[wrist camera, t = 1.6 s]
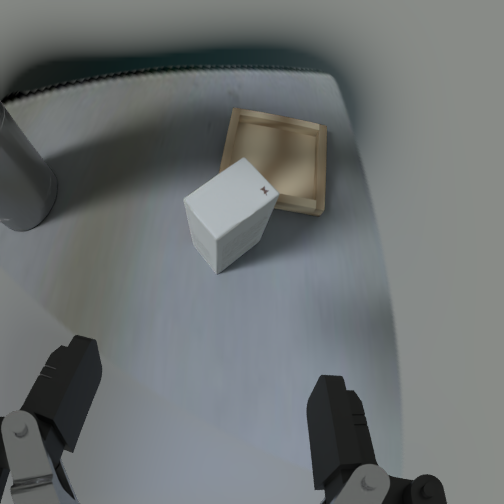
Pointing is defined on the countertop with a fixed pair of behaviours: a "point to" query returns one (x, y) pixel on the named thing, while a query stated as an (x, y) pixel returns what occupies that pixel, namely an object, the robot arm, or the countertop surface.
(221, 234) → the skincare box
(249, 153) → the holder
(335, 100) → the countertop surface
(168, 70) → the countertop surface
